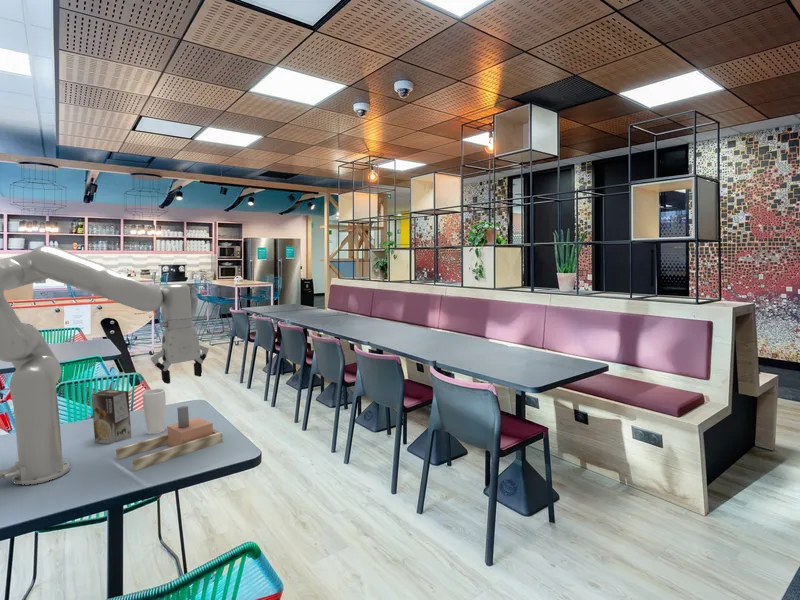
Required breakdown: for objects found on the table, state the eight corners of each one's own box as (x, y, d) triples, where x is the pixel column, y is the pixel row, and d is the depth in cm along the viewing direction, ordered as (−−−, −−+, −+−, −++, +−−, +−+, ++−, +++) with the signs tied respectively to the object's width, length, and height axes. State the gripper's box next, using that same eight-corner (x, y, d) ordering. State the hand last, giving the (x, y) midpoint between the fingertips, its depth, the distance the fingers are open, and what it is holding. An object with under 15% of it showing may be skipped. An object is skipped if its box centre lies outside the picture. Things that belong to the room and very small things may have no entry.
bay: (135, 474, 128) (134, 460, 128) (116, 462, 136) (115, 448, 136) (222, 444, 148) (222, 432, 148) (201, 435, 156) (201, 424, 156)
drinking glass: (171, 431, 161) (169, 388, 159) (159, 438, 154) (157, 394, 153) (153, 430, 161) (150, 388, 160) (140, 438, 155) (137, 393, 153)
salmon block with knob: (182, 452, 140) (180, 413, 139) (168, 444, 146) (166, 407, 145) (213, 441, 148) (211, 404, 147) (199, 435, 153) (197, 399, 152)
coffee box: (132, 437, 155) (129, 390, 154) (116, 445, 149) (113, 396, 147) (110, 435, 157) (106, 389, 156) (93, 442, 151) (90, 394, 150)
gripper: (155, 329, 133) (159, 387, 134) (212, 321, 146) (215, 375, 148) (143, 327, 138) (148, 384, 139) (199, 320, 151) (203, 371, 153)
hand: (182, 379), depth 143 cm, fingers open, 9 cm apart
